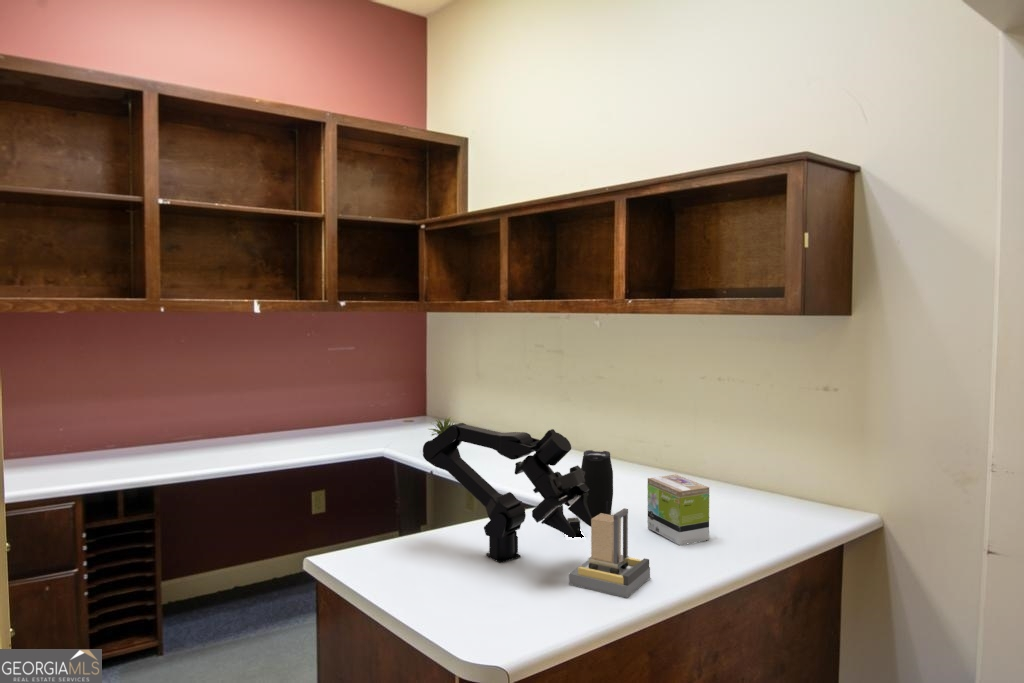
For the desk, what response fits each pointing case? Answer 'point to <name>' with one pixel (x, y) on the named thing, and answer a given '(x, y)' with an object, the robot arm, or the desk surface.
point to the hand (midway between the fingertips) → (583, 531)
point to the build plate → (575, 526)
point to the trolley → (609, 541)
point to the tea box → (678, 509)
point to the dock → (612, 578)
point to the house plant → (441, 426)
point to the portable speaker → (598, 481)
